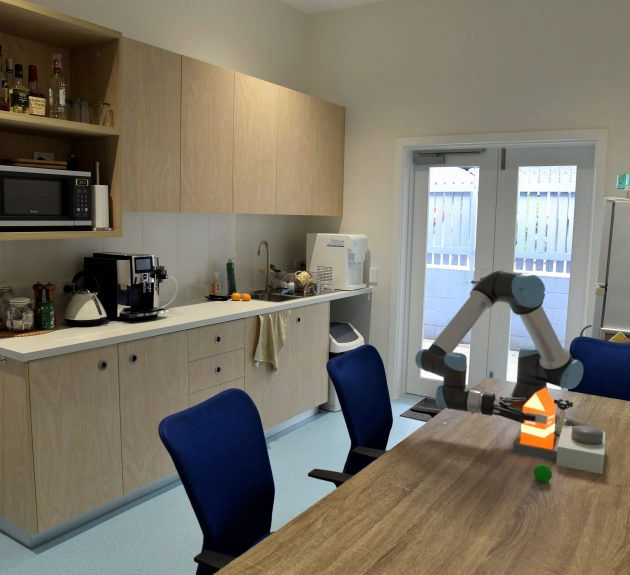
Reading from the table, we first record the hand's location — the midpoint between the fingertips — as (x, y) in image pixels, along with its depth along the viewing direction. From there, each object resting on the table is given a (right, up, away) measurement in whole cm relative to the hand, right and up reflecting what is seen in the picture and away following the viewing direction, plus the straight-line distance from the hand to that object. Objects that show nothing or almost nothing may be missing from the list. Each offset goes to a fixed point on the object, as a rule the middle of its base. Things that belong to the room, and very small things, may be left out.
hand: (548, 413), depth 194 cm
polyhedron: (-10, -15, -21) cm, 28 cm away
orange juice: (-3, -12, +3) cm, 13 cm away
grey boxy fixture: (+3, -13, 0) cm, 13 cm away
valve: (+10, -11, +16) cm, 22 cm away
